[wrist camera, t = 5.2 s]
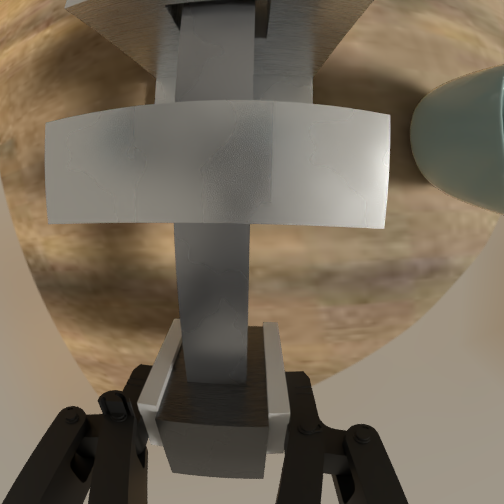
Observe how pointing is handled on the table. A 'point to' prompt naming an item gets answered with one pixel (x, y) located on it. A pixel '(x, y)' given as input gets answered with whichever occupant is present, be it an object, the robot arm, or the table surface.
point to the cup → (463, 138)
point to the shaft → (215, 281)
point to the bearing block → (222, 131)
